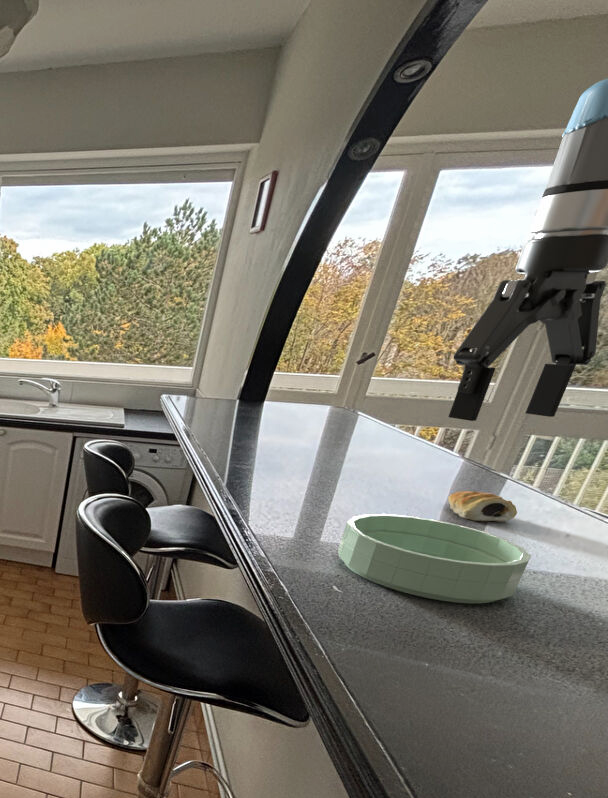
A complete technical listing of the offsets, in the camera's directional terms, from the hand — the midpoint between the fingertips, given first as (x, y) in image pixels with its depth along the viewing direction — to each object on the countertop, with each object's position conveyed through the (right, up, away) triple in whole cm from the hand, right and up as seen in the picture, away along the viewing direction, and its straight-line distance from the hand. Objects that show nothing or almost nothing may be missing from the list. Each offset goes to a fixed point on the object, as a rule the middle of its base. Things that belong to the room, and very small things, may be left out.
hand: (501, 417), depth 77 cm
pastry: (+12, -12, +16) cm, 24 cm away
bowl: (-16, -20, -5) cm, 26 cm away
